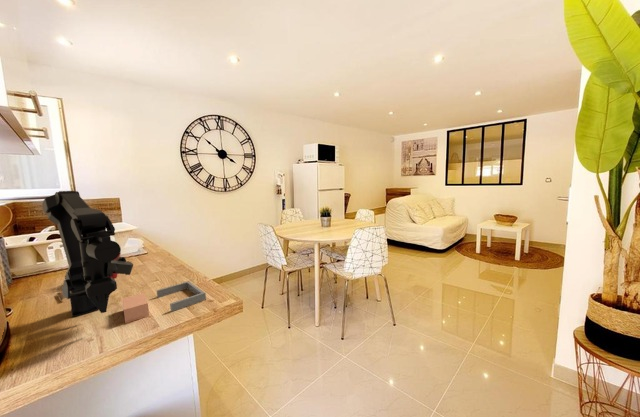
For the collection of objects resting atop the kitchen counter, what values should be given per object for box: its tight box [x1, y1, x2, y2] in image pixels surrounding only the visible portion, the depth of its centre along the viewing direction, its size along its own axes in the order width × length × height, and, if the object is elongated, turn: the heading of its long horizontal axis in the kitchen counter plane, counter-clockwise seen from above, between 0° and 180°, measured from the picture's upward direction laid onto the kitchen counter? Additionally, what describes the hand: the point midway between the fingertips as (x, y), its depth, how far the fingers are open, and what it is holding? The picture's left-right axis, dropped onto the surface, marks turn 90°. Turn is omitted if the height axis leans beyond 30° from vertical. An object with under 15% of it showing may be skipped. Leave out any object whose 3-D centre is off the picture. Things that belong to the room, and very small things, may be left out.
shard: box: [56, 290, 71, 303], centre depth 95 cm, size 11×8×2 cm
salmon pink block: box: [121, 292, 150, 324], centre depth 82 cm, size 6×10×4 cm, turn 40°
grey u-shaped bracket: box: [156, 280, 207, 313], centre depth 92 cm, size 11×16×2 cm
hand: (101, 306), depth 76 cm, fingers open, 9 cm apart
